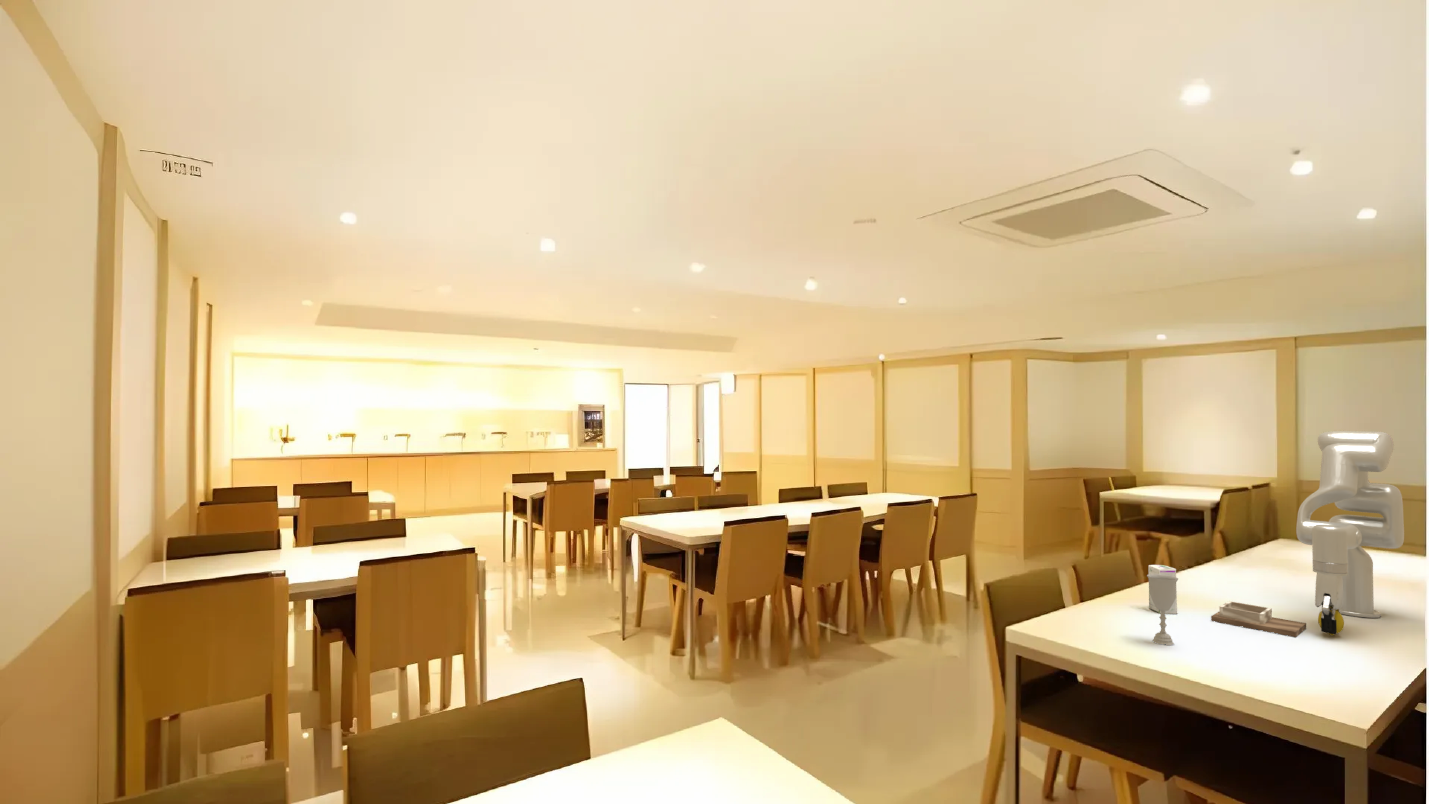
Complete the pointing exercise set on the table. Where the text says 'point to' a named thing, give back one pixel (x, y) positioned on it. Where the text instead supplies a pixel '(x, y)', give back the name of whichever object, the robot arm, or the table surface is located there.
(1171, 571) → the syrup box
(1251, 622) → the serving board
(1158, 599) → the chalice
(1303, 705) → the table surface
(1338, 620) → the lemon
